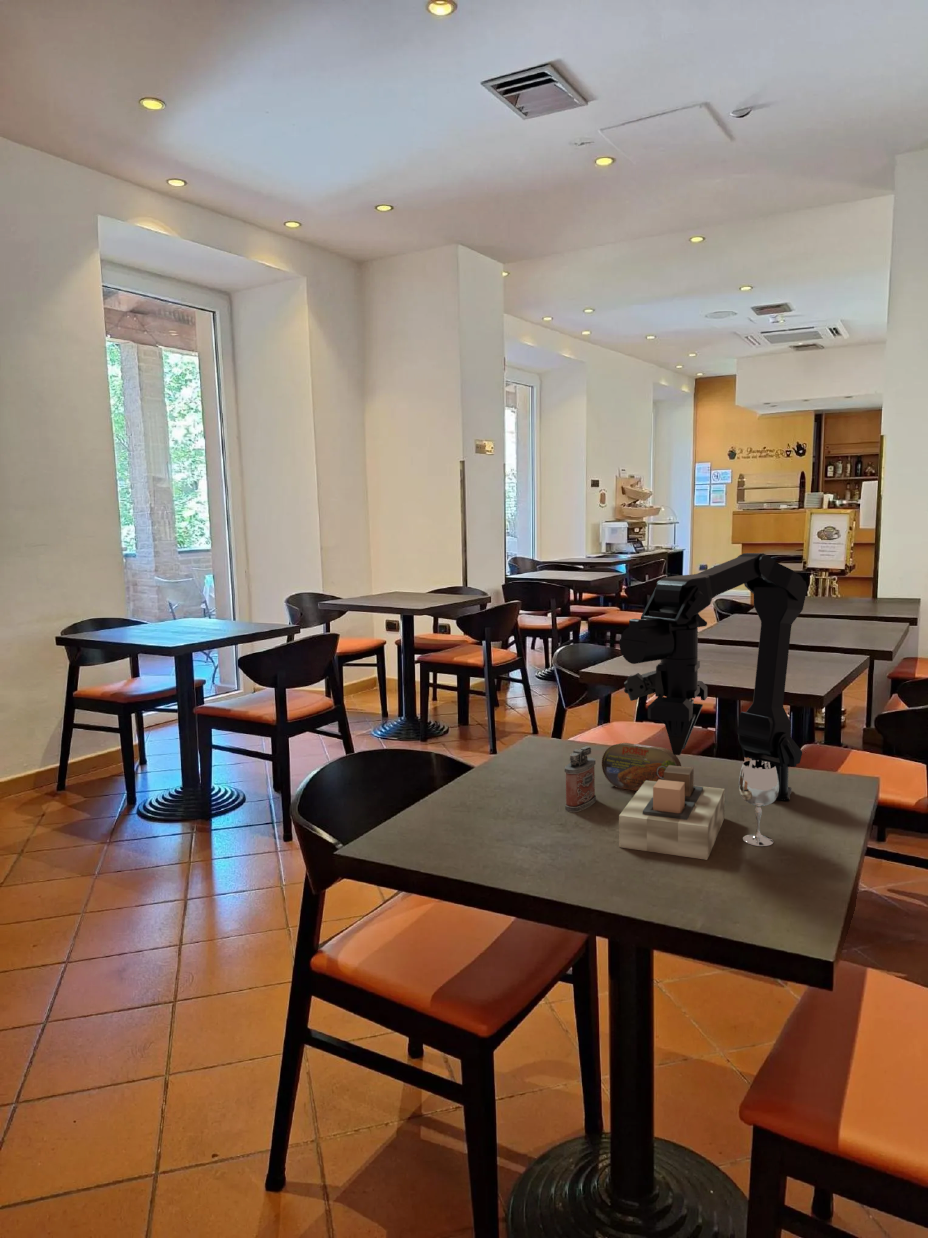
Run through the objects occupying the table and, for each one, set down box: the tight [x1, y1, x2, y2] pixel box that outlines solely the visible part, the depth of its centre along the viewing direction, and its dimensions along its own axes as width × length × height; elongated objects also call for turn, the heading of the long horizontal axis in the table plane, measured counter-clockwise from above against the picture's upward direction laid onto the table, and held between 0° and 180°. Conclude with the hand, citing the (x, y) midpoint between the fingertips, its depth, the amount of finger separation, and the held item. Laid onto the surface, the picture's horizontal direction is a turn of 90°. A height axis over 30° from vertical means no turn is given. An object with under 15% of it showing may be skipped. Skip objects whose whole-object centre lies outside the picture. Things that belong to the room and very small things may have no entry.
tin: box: [601, 742, 682, 792], centre depth 150 cm, size 15×3×8 cm, turn 54°
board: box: [618, 780, 726, 861], centre depth 129 cm, size 18×13×6 cm
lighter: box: [564, 745, 597, 813], centre depth 142 cm, size 8×3×10 cm, turn 143°
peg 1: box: [664, 765, 695, 797], centre depth 132 cm, size 4×4×5 cm
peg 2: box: [653, 780, 685, 814], centre depth 125 cm, size 4×4×5 cm
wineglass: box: [738, 759, 779, 847], centre depth 124 cm, size 6×6×12 cm
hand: (678, 751), depth 131 cm, fingers open, 3 cm apart
